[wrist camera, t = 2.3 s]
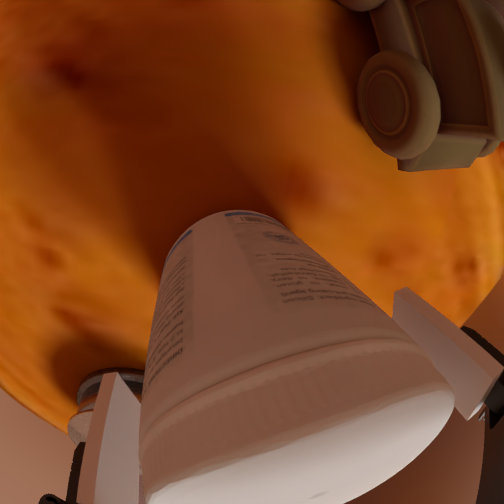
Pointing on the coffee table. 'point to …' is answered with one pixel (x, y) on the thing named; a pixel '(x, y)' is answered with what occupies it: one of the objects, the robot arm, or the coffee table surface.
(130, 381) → the duct stub
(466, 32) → the wooden toy train
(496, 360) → the robot arm
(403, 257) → the coffee table surface
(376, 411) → the supplement tub
